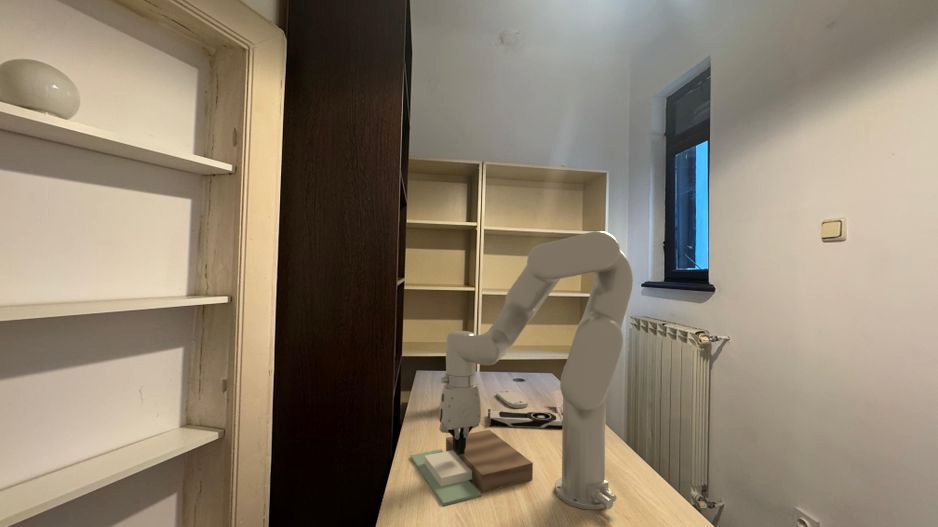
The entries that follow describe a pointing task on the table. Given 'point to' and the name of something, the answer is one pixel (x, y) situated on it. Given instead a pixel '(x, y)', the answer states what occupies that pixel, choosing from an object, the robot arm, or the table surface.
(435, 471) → the tile
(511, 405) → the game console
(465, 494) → the mat
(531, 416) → the graphics card
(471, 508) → the table surface
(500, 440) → the block
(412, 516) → the table surface
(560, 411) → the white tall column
